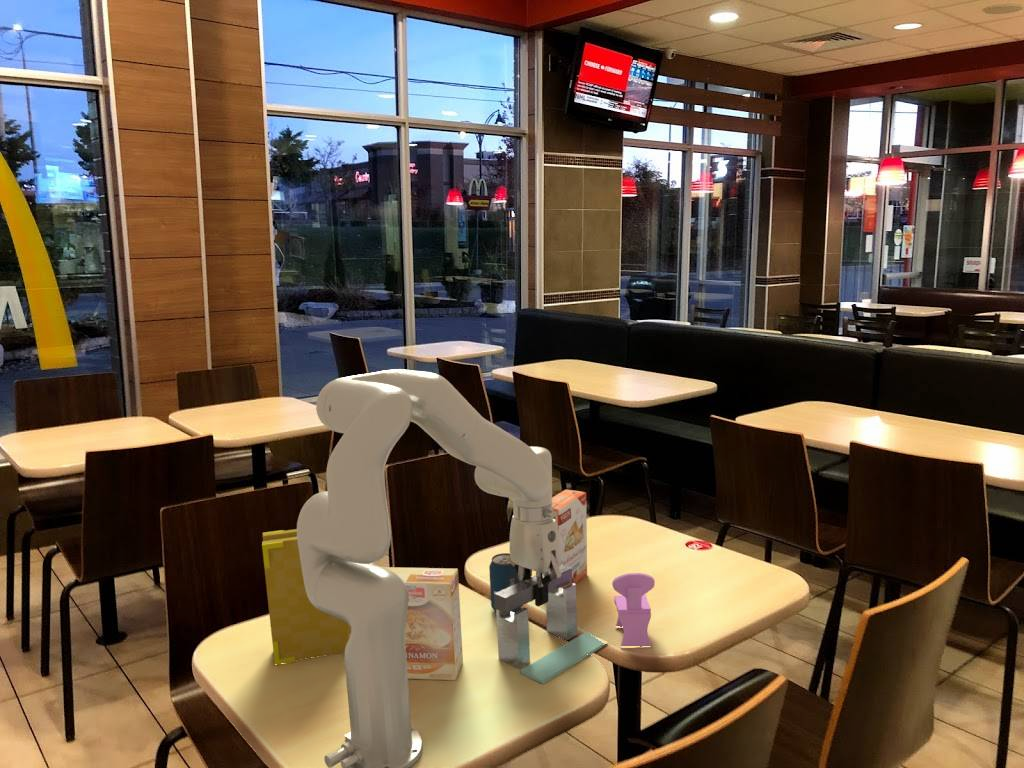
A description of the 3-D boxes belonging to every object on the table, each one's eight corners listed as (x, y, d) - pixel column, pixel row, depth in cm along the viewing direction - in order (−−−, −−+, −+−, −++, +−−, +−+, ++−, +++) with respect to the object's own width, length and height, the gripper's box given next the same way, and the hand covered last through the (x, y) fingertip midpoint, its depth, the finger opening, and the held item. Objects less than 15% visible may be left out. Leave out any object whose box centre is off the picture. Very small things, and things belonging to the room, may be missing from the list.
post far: (567, 640, 162) (566, 589, 160) (547, 631, 165) (545, 581, 163) (577, 634, 164) (575, 584, 162) (556, 626, 168) (555, 576, 166)
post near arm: (519, 668, 152) (516, 614, 150) (498, 658, 156) (496, 605, 154) (530, 662, 154) (527, 608, 152) (509, 652, 158) (507, 600, 156)
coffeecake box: (378, 678, 150) (370, 581, 147) (389, 658, 157) (381, 565, 154) (456, 681, 148) (450, 583, 145) (463, 661, 155) (458, 566, 152)
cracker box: (561, 598, 180) (559, 509, 176) (538, 593, 183) (535, 505, 179) (589, 574, 192) (587, 491, 188) (567, 570, 195) (564, 487, 191)
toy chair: (649, 625, 166) (649, 557, 163) (657, 647, 157) (656, 576, 155) (609, 627, 166) (608, 559, 163) (615, 649, 157) (613, 577, 155)
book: (274, 665, 157) (261, 544, 152) (275, 649, 163) (262, 532, 158) (362, 650, 161) (352, 532, 156) (359, 635, 167) (349, 521, 163)
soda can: (502, 600, 180) (499, 549, 178) (528, 606, 177) (526, 555, 175) (485, 613, 175) (482, 561, 172) (512, 619, 171) (510, 567, 169)
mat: (542, 684, 146) (542, 681, 146) (520, 673, 150) (520, 670, 150) (607, 643, 159) (607, 641, 159) (585, 634, 163) (585, 632, 163)
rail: (505, 613, 149) (505, 598, 149) (494, 608, 152) (494, 593, 151) (572, 582, 163) (572, 568, 162) (561, 578, 165) (560, 564, 164)
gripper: (578, 515, 151) (579, 607, 154) (516, 498, 163) (518, 583, 166) (551, 525, 146) (553, 620, 149) (489, 507, 157) (492, 595, 160)
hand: (534, 600), depth 157 cm, fingers closed on rail, 3 cm apart
